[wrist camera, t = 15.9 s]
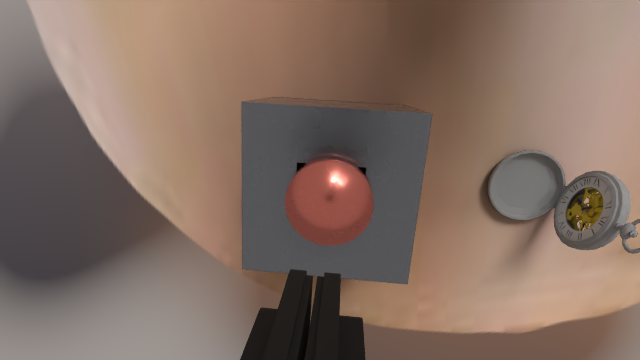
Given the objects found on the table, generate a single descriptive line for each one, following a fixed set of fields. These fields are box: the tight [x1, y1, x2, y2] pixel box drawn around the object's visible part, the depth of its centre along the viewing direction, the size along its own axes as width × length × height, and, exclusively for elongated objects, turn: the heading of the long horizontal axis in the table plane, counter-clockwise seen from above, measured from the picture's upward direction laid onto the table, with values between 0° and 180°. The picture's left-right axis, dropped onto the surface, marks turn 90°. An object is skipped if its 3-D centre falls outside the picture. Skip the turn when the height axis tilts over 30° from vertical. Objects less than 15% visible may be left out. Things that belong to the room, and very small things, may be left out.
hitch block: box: [242, 97, 432, 284], centre depth 28 cm, size 12×12×10 cm
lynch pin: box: [285, 156, 374, 246], centre depth 27 cm, size 6×6×12 cm
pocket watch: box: [488, 150, 640, 253], centre depth 27 cm, size 8×8×10 cm
